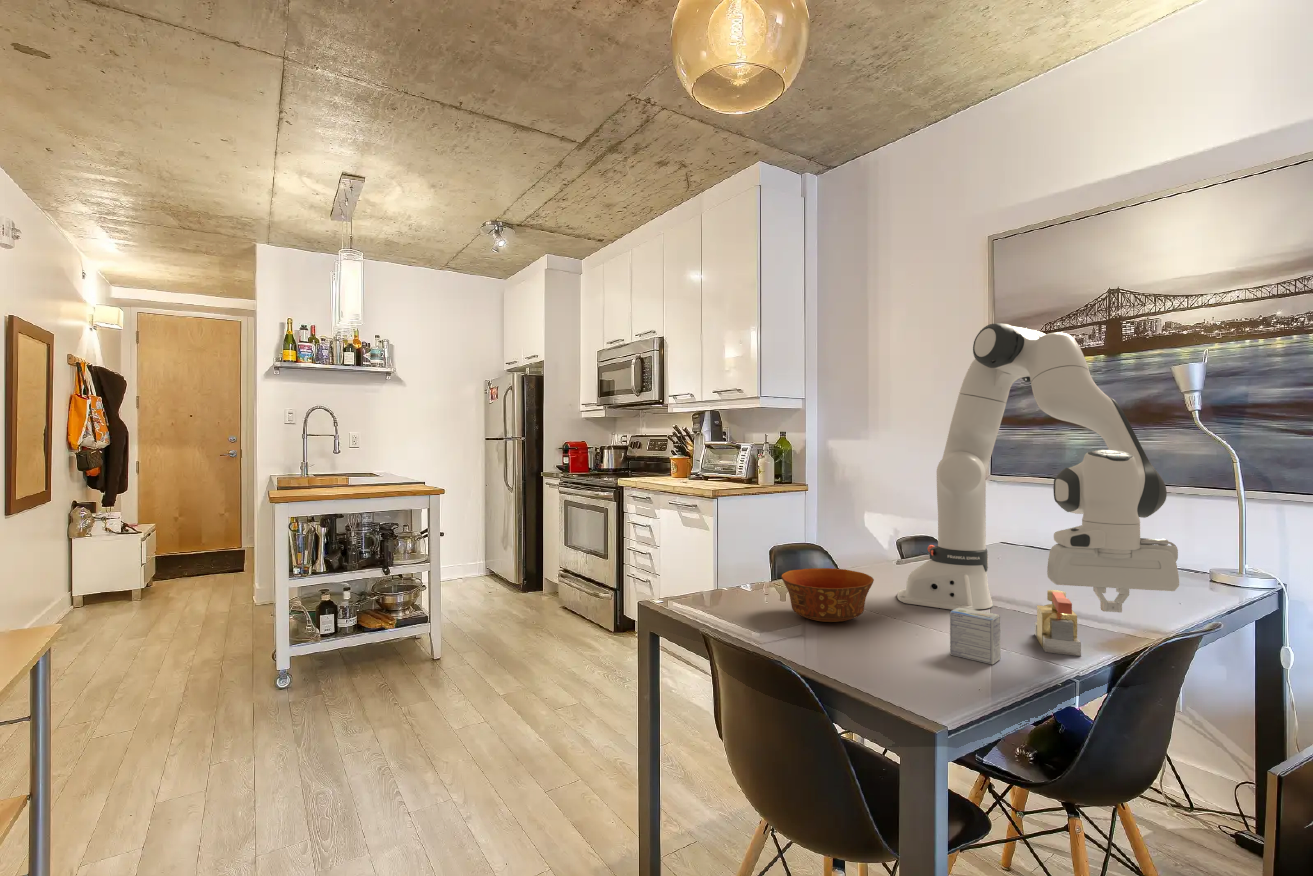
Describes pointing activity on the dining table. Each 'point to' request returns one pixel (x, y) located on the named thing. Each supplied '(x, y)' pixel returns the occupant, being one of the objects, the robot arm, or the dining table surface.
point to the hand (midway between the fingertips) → (1111, 611)
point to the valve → (1057, 631)
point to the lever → (1060, 601)
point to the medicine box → (975, 635)
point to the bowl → (827, 593)
